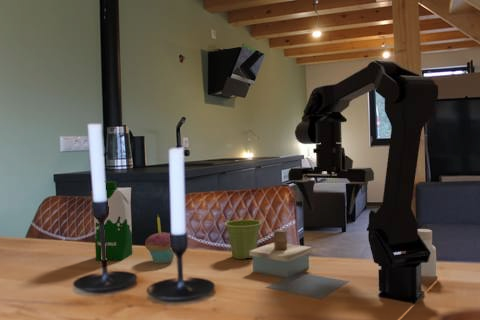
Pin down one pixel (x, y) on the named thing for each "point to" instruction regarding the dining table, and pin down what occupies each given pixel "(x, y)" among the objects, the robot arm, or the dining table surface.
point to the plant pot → (243, 237)
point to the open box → (280, 266)
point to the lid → (280, 249)
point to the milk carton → (116, 224)
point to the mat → (308, 285)
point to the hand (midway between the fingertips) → (330, 212)
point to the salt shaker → (430, 266)
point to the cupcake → (159, 246)
